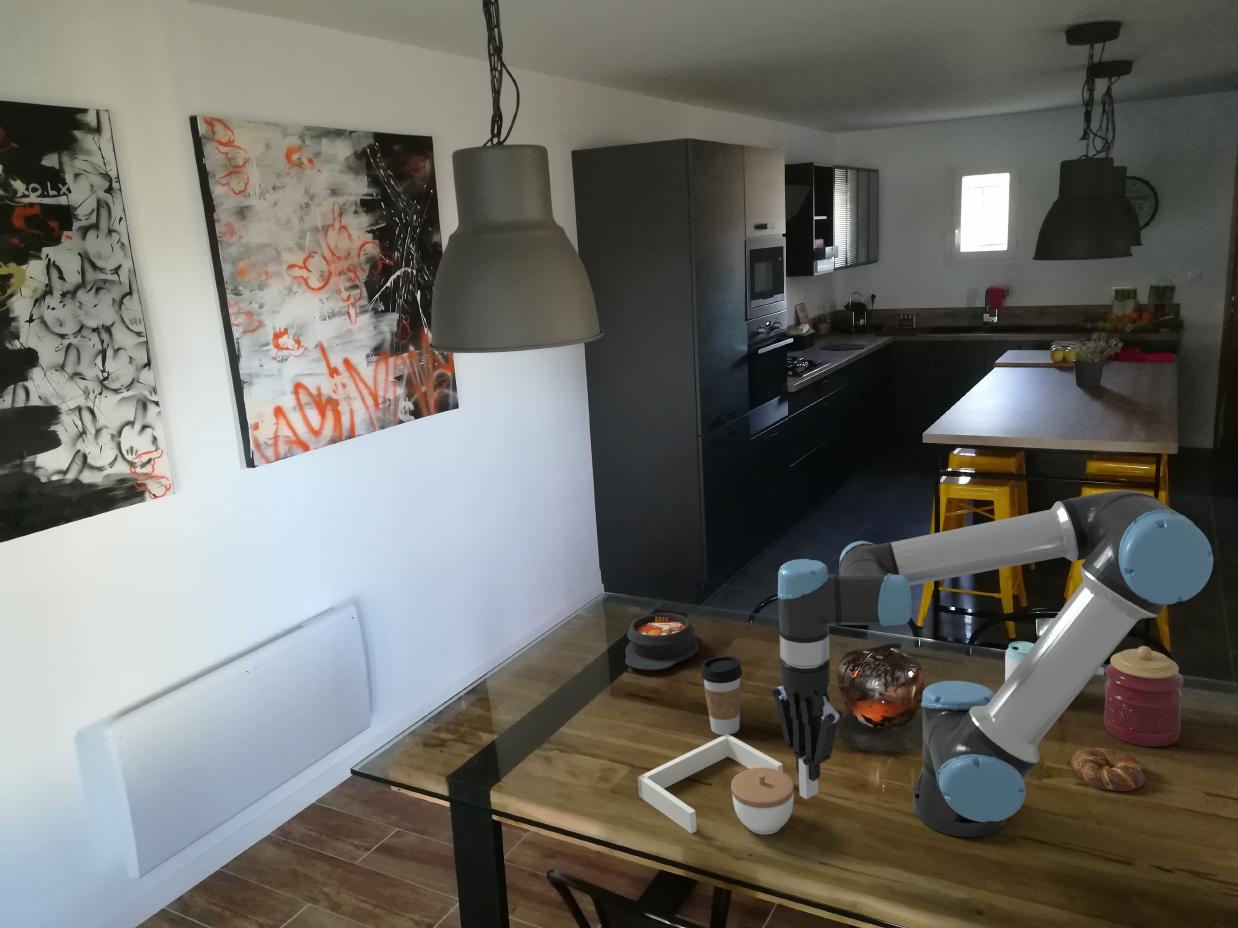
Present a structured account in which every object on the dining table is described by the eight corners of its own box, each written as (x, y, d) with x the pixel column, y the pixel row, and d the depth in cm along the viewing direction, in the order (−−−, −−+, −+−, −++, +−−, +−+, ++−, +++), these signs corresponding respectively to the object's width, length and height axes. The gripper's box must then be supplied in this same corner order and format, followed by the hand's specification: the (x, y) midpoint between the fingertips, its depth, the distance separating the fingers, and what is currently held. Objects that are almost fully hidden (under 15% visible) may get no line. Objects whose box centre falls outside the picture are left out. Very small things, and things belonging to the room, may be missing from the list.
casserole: (647, 631, 242) (645, 602, 240) (713, 638, 234) (711, 608, 232) (608, 672, 220) (605, 640, 218) (679, 681, 212) (676, 648, 210)
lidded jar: (781, 850, 149) (779, 799, 147) (723, 832, 155) (719, 784, 153) (804, 814, 158) (802, 766, 156) (748, 799, 164) (745, 753, 162)
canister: (1187, 726, 175) (1192, 642, 171) (1171, 755, 166) (1175, 667, 162) (1113, 708, 184) (1116, 627, 180) (1094, 735, 174) (1097, 651, 171)
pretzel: (1057, 775, 163) (1058, 757, 163) (1087, 752, 170) (1088, 734, 169) (1126, 802, 154) (1127, 783, 153) (1155, 777, 160) (1156, 758, 159)
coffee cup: (744, 738, 184) (739, 671, 181) (703, 737, 186) (698, 670, 183) (746, 718, 192) (742, 653, 189) (707, 717, 194) (702, 653, 191)
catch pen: (783, 783, 168) (782, 763, 167) (691, 833, 155) (689, 813, 155) (728, 751, 180) (727, 733, 179) (639, 796, 168) (637, 776, 167)
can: (1024, 710, 186) (1025, 656, 183) (997, 696, 192) (997, 644, 189) (1049, 701, 188) (1050, 648, 186) (1021, 688, 195) (1022, 636, 192)
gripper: (854, 664, 136) (856, 802, 142) (791, 639, 147) (795, 768, 152) (820, 680, 132) (823, 821, 137) (757, 652, 143) (763, 785, 148)
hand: (808, 793), depth 145 cm, fingers closed
